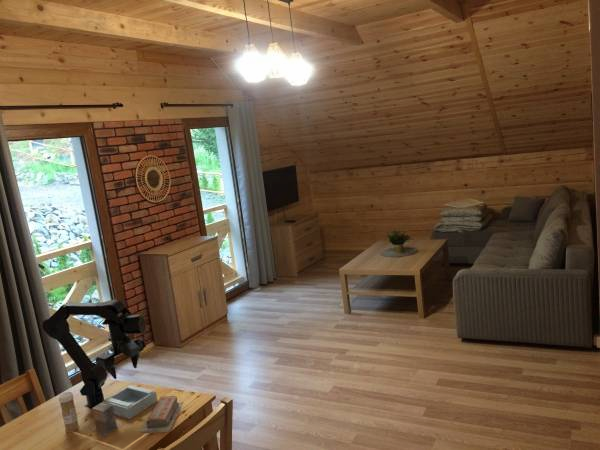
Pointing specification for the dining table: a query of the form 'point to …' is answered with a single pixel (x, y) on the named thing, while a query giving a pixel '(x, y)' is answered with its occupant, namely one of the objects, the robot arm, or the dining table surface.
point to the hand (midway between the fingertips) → (125, 373)
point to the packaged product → (162, 415)
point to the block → (104, 417)
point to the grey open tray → (131, 401)
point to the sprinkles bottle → (68, 411)
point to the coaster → (104, 432)
